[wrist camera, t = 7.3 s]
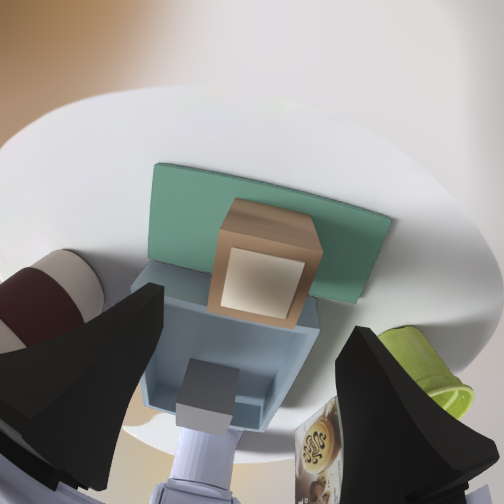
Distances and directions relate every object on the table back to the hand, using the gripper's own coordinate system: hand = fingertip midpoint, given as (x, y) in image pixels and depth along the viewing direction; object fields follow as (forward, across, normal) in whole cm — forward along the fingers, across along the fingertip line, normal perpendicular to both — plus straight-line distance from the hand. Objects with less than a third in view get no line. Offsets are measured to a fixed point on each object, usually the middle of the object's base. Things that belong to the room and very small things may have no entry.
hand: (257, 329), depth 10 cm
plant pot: (+9, -14, +8) cm, 19 cm away
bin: (+9, +2, +12) cm, 15 cm away
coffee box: (+9, -14, +20) cm, 26 cm away
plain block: (+8, +2, +15) cm, 17 cm away
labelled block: (+8, 0, 0) cm, 8 cm away
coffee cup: (+9, +16, +8) cm, 20 cm away
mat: (+9, 0, 0) cm, 9 cm away
